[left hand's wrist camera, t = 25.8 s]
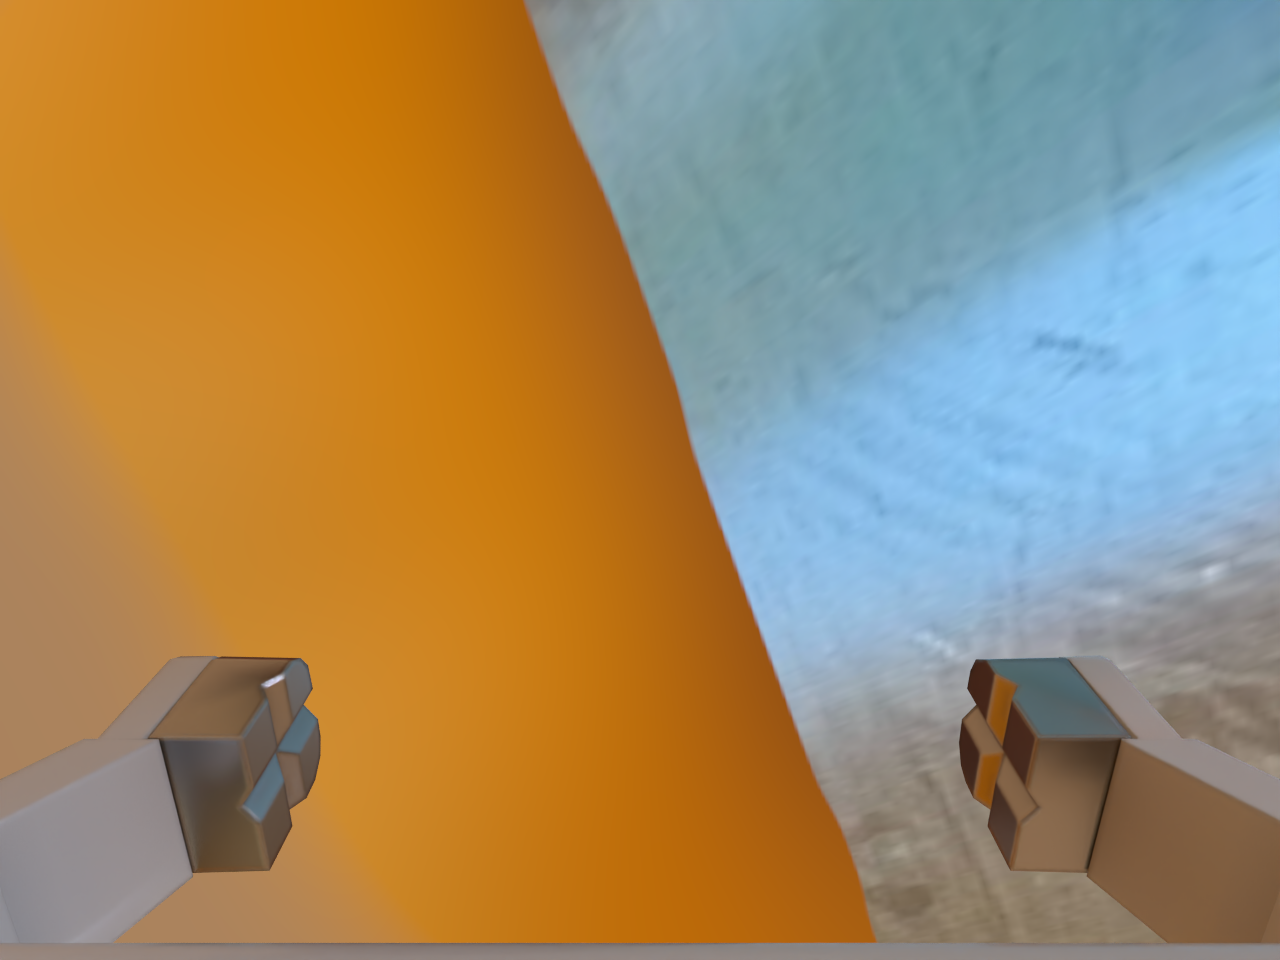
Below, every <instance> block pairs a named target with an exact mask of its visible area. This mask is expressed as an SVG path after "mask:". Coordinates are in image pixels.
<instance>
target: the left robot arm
mask: <svg viewBox="0 0 1280 960" xmlns="http://www.w3.org/2000/svg"><path fill="white" fill-rule="evenodd" d="M312 689H313V688H312V683H311V678H310V673H309V668H308V665H307V664H306V663H305V662H304V661H303V660H302V659H301V658H264V657H216V656H189V657H177V658H174V659H170V660H169V661H168V662H167V663H166V664H165V665H164V667H163V668H162V669H161V670H160V671H159V672H158V673H157V674H156V675H155V676H154V678H153V679H152V680H151V681H150V682H149V683H148V684H147V685H146V686H145V687H144V689H143V690H142V691H141V692H140V693H139V694H138V695H137V696H136V697H135V698H134V699H133V701H132V702H131V703H130V704H129V705H128V706H127V707H126V708H125V709H124V710H123V712H122V713H121V714H120V715H119V716H118V717H117V718H116V719H115V720H114V722H113V723H112V724H111V725H110V726H109V727H108V728H107V729H106V730H105V731H104V732H103V734H102V735H101V736H100V737H99V738H98V739H83V740H81V741H79V742H77V743H75V744H73V745H71V746H68V747H66V748H64V749H62V750H60V751H58V752H56V753H54V754H52V755H50V756H48V757H46V758H44V759H42V760H39V761H37V762H35V763H33V764H31V765H29V766H27V767H25V768H23V769H21V770H19V771H17V772H15V773H13V774H10V775H8V776H7V777H4V778H2V779H0V960H1280V779H1278V778H1276V777H1273V776H1271V775H1269V774H1267V773H1265V772H1263V771H1261V770H1259V769H1257V768H1255V767H1253V766H1251V765H1249V764H1247V763H1245V762H1242V761H1240V760H1238V759H1236V758H1234V757H1232V756H1230V755H1228V754H1226V753H1224V752H1222V751H1220V750H1218V749H1216V748H1214V747H1212V746H1209V745H1207V744H1205V743H1203V742H1201V741H1199V740H1197V739H1182V738H1181V737H1180V736H1179V735H1178V734H1177V732H1176V731H1175V730H1174V729H1173V728H1172V727H1171V726H1170V725H1169V724H1168V723H1167V721H1166V720H1165V719H1164V718H1163V717H1162V716H1161V715H1160V714H1159V713H1158V712H1157V710H1156V709H1155V708H1154V707H1153V706H1152V705H1151V704H1150V703H1149V702H1148V701H1147V699H1146V698H1145V697H1144V696H1143V695H1142V694H1141V693H1140V692H1139V691H1138V690H1137V688H1136V687H1135V686H1134V685H1133V684H1132V683H1131V682H1130V681H1129V680H1128V679H1127V677H1126V676H1125V675H1124V674H1123V673H1122V672H1121V671H1120V670H1119V669H1118V668H1117V666H1116V665H1115V664H1114V663H1113V662H1112V661H1111V660H1109V659H1107V658H1104V657H1102V656H1080V657H1059V658H1025V659H977V660H976V661H975V663H974V665H973V667H972V669H971V671H970V677H969V682H968V687H967V689H968V691H969V692H970V694H971V696H972V698H973V699H974V701H975V703H976V704H977V705H976V706H975V707H974V708H973V709H972V710H971V711H970V712H969V713H968V714H967V715H966V716H965V717H964V718H963V719H962V724H961V732H960V740H959V747H960V759H961V767H962V770H963V774H964V777H965V781H966V783H967V785H968V788H969V790H970V792H971V794H972V796H973V798H974V799H976V800H977V801H979V802H980V803H982V804H983V805H984V806H986V807H987V808H989V809H990V816H989V822H988V828H989V830H990V832H991V834H992V835H993V837H994V839H995V841H996V843H997V845H998V847H999V849H1000V851H1001V853H1002V855H1003V857H1004V859H1005V861H1006V863H1007V865H1008V867H1009V869H1010V870H1011V871H1041V872H1077V873H1087V877H1088V878H1089V879H1091V880H1092V881H1093V882H1094V883H1096V884H1097V885H1098V886H1099V887H1100V888H1102V889H1103V890H1104V891H1105V892H1107V893H1108V894H1109V895H1110V896H1111V897H1113V898H1114V899H1115V900H1116V901H1117V902H1119V903H1120V904H1121V905H1122V906H1124V907H1125V908H1126V909H1127V910H1128V911H1130V912H1131V913H1132V914H1133V915H1134V916H1136V917H1137V918H1138V919H1139V920H1141V921H1142V922H1143V923H1144V924H1145V925H1147V926H1148V927H1149V928H1150V929H1151V930H1153V931H1154V932H1155V933H1156V934H1158V935H1159V936H1160V937H1161V938H1162V939H1164V940H1165V941H1166V942H1167V943H113V942H114V941H115V940H117V939H118V938H119V937H120V936H121V935H123V934H124V933H125V932H126V931H128V930H129V929H130V928H131V927H132V926H134V925H135V924H136V923H137V922H139V921H140V920H141V919H142V918H143V917H145V916H146V915H147V914H148V913H149V912H151V911H152V910H153V909H154V908H156V907H157V906H158V905H159V904H160V903H162V902H163V901H164V900H165V899H167V898H168V897H169V896H170V895H171V894H173V893H174V892H175V891H176V890H177V889H179V888H180V887H181V886H182V885H184V884H185V883H186V882H187V881H188V880H190V879H191V878H192V877H193V874H192V873H202V872H237V871H269V870H270V869H271V867H272V865H273V863H274V861H275V859H276V857H277V855H278V853H279V851H280V849H281V847H282V845H283V843H284V841H285V839H286V837H287V835H288V833H289V832H290V830H291V828H292V822H291V816H290V809H291V808H293V807H294V806H296V805H297V804H298V803H300V802H301V801H303V800H304V799H306V798H307V796H308V794H309V792H310V789H311V787H312V785H313V783H314V781H315V778H316V773H317V769H318V764H319V760H320V730H319V724H318V719H317V718H316V717H315V716H314V715H313V714H312V713H311V712H310V711H309V710H308V709H307V708H306V707H305V706H304V705H303V704H304V703H305V701H306V699H307V698H308V696H309V694H310V692H311V691H312Z"/></svg>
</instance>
